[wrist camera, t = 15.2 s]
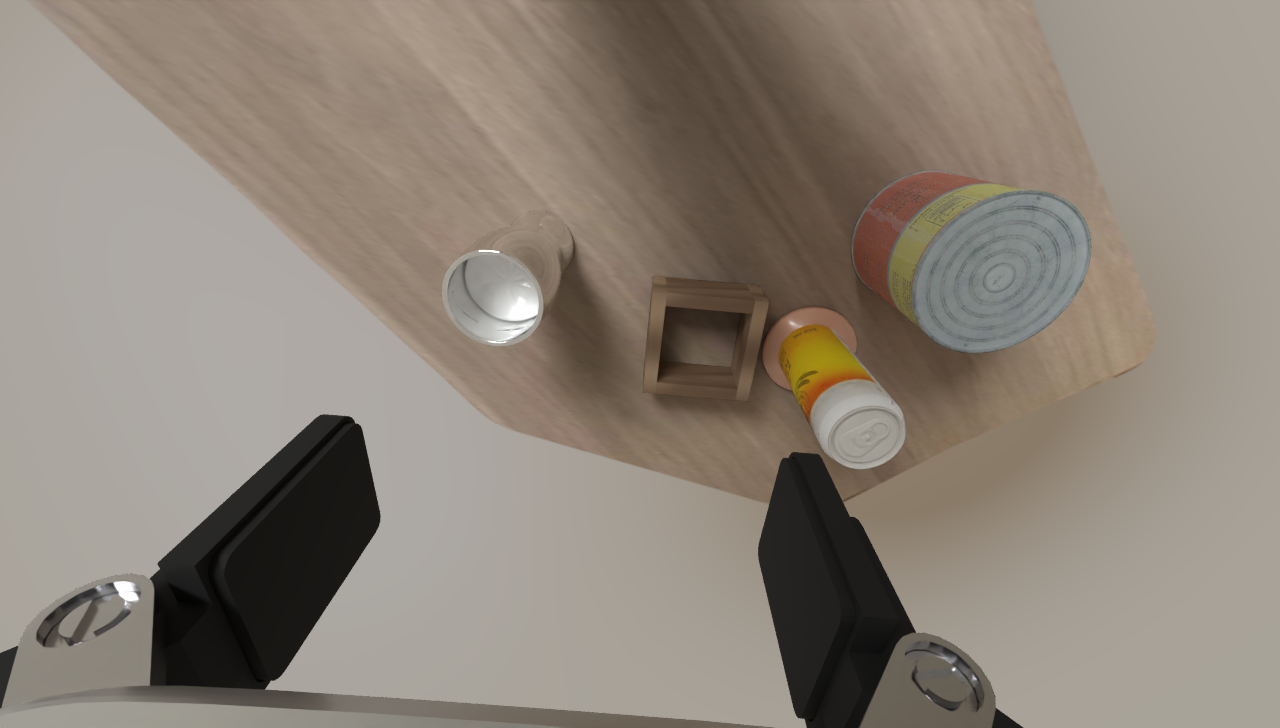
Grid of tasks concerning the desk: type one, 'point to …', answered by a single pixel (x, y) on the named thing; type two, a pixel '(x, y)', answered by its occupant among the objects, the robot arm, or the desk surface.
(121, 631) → the robot arm
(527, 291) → the beer glass
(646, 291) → the desk surface
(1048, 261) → the canned food
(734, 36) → the desk surface
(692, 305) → the can holder
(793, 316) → the peach flat disc
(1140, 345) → the desk surface
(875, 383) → the beer can
